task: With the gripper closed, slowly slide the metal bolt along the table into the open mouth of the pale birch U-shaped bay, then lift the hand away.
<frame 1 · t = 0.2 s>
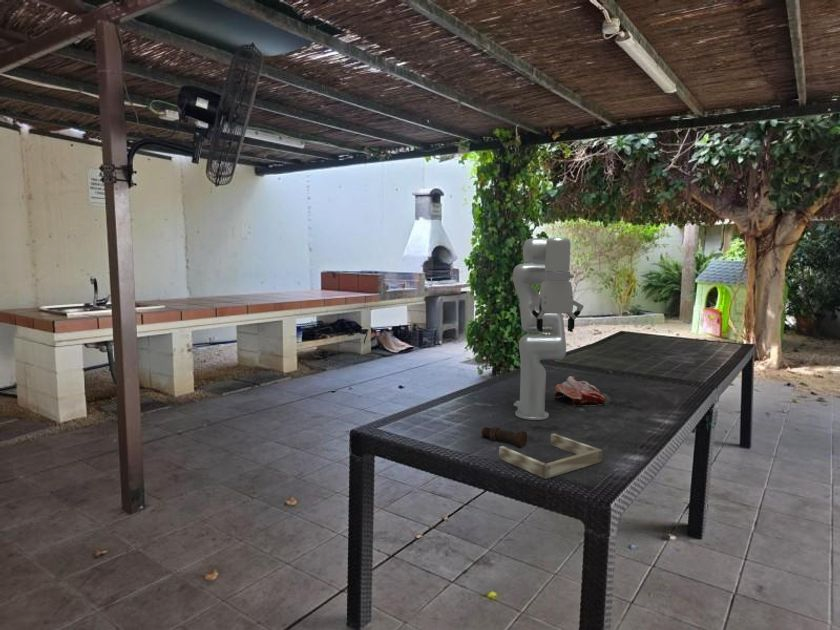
hand: (555, 331, 170), 37 cm above the table, tool pointing down, fingers open, 9 cm apart
meat: (581, 402, 230), on the table
bolt: (503, 442, 176), on the table
bay: (548, 459, 160), on the table
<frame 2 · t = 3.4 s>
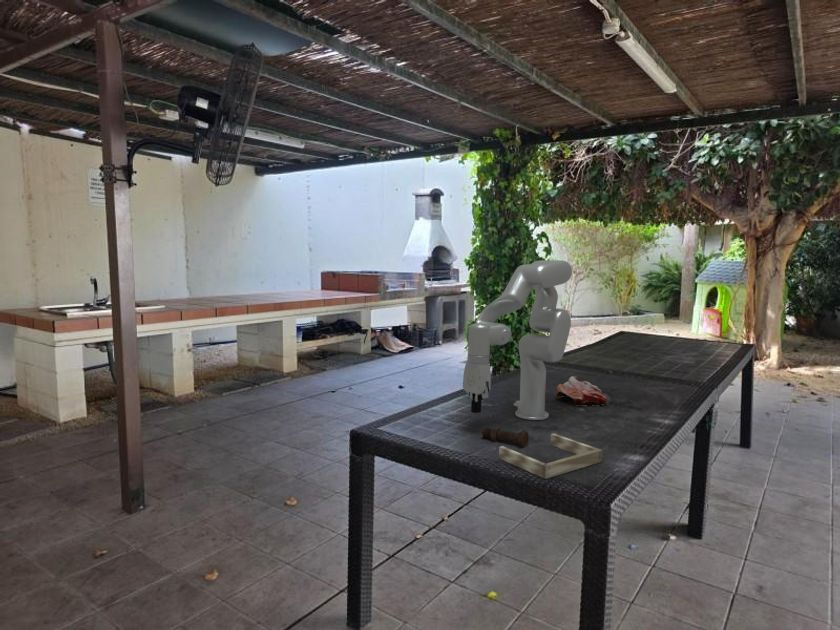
hand: (476, 412, 185), 7 cm above the table, tool pointing down, fingers closed
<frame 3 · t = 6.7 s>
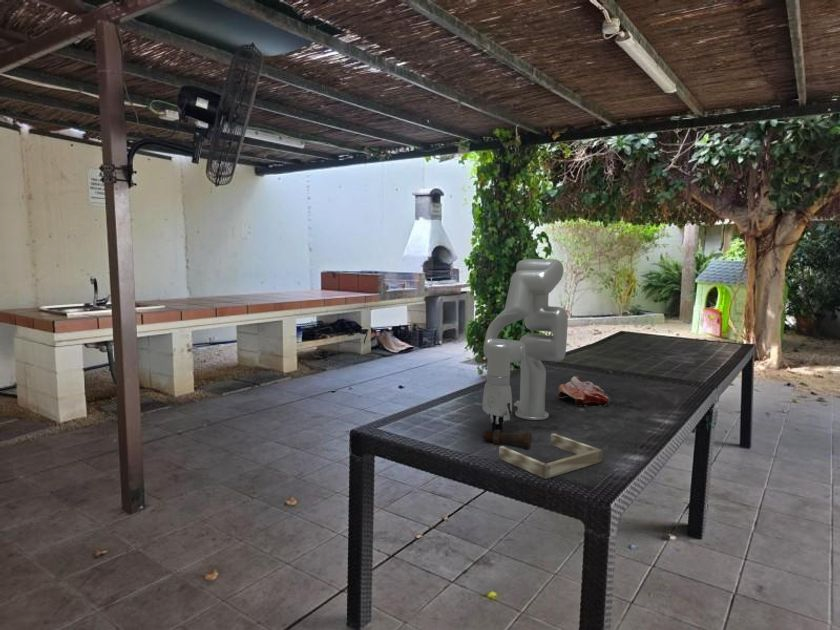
hand: (497, 434, 178), 2 cm above the table, tool pointing down, fingers closed
bolt: (506, 445, 173), on the table, touching gripper
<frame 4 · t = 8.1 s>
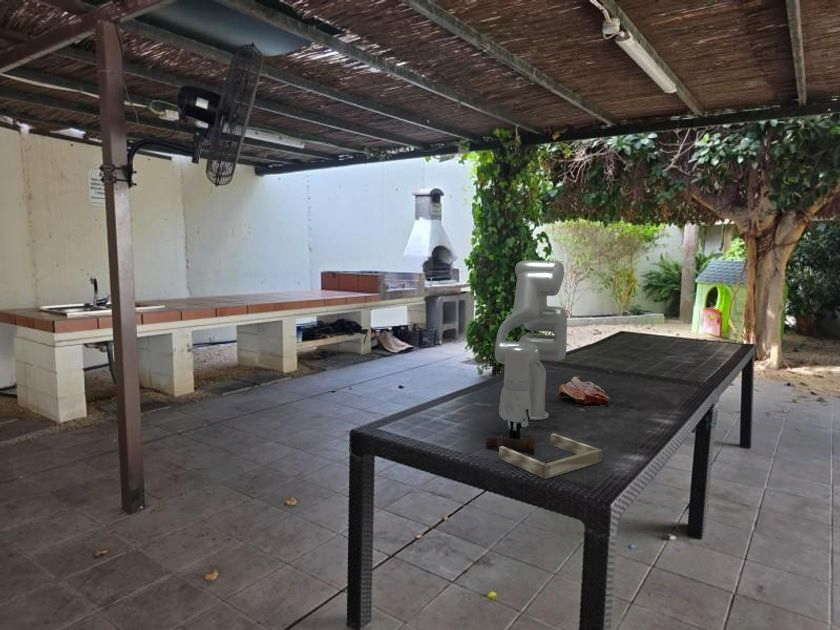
hand: (514, 441, 172), 2 cm above the table, tool pointing down, fingers closed
bolt: (509, 451, 168), on the table, touching gripper
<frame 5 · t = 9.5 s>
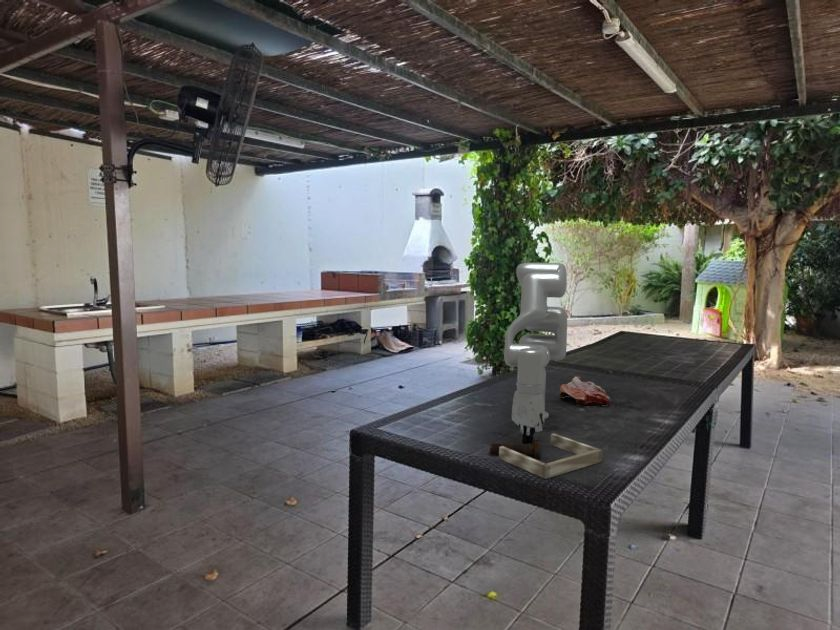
hand: (527, 446, 167), 2 cm above the table, tool pointing down, fingers closed
bolt: (514, 456, 163), on the table, touching gripper
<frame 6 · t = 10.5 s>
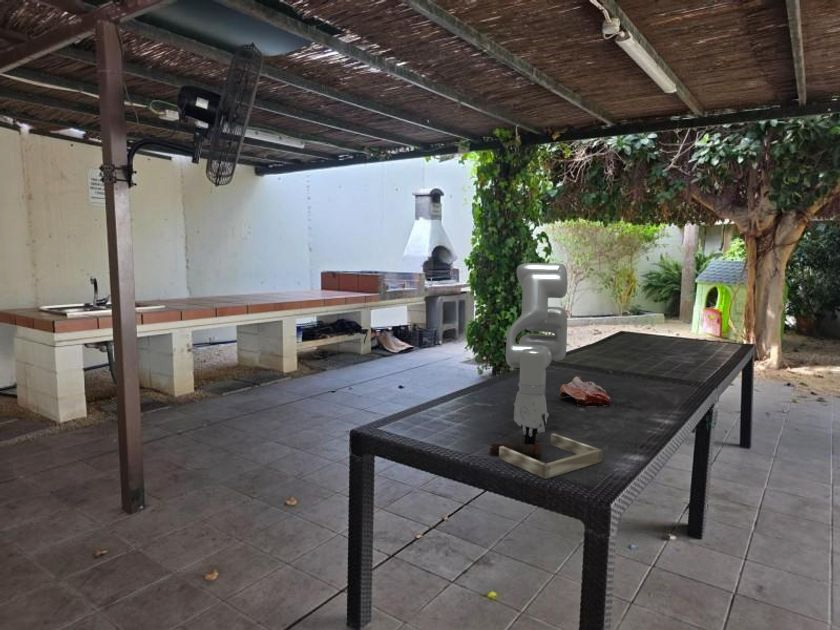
hand: (529, 447, 166), 1 cm above the table, tool pointing down, fingers closed
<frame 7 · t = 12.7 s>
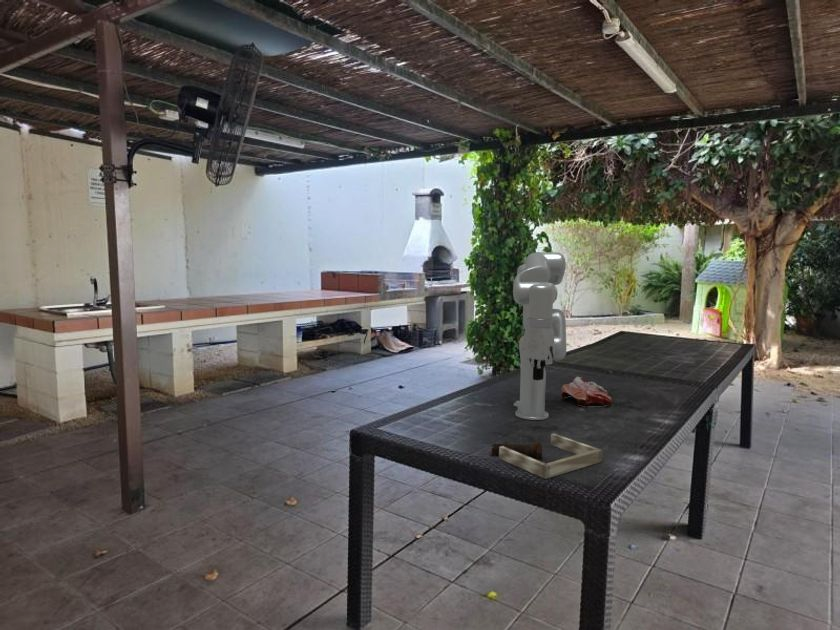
hand: (538, 379, 173), 21 cm above the table, tool pointing down, fingers closed
bolt: (516, 457, 163), on the table
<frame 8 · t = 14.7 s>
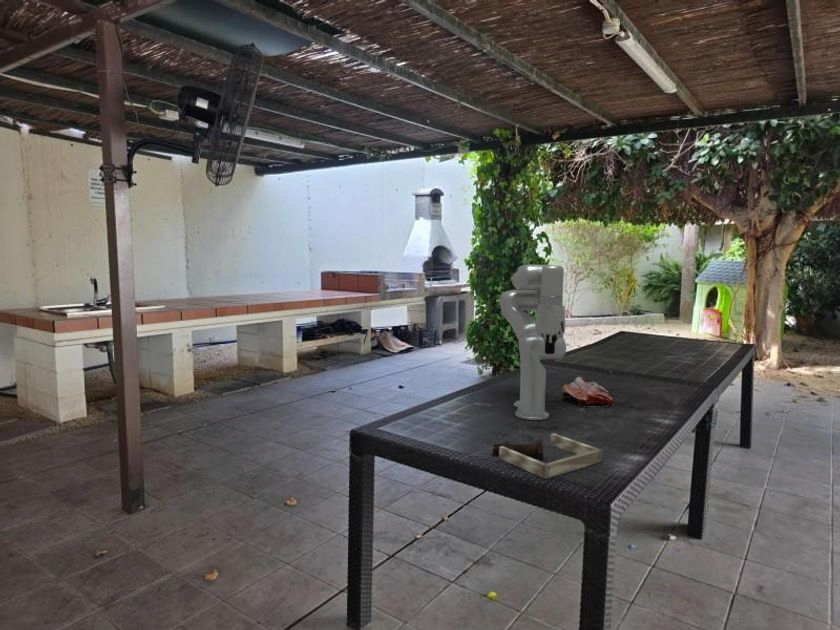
hand: (549, 353, 187), 27 cm above the table, tool pointing down, fingers closed
at the end: bolt inside the target area on the bay (9.2 cm from its centre), point 0.0 cm above the bay's base; bolt moved 13.4 cm from its start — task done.
